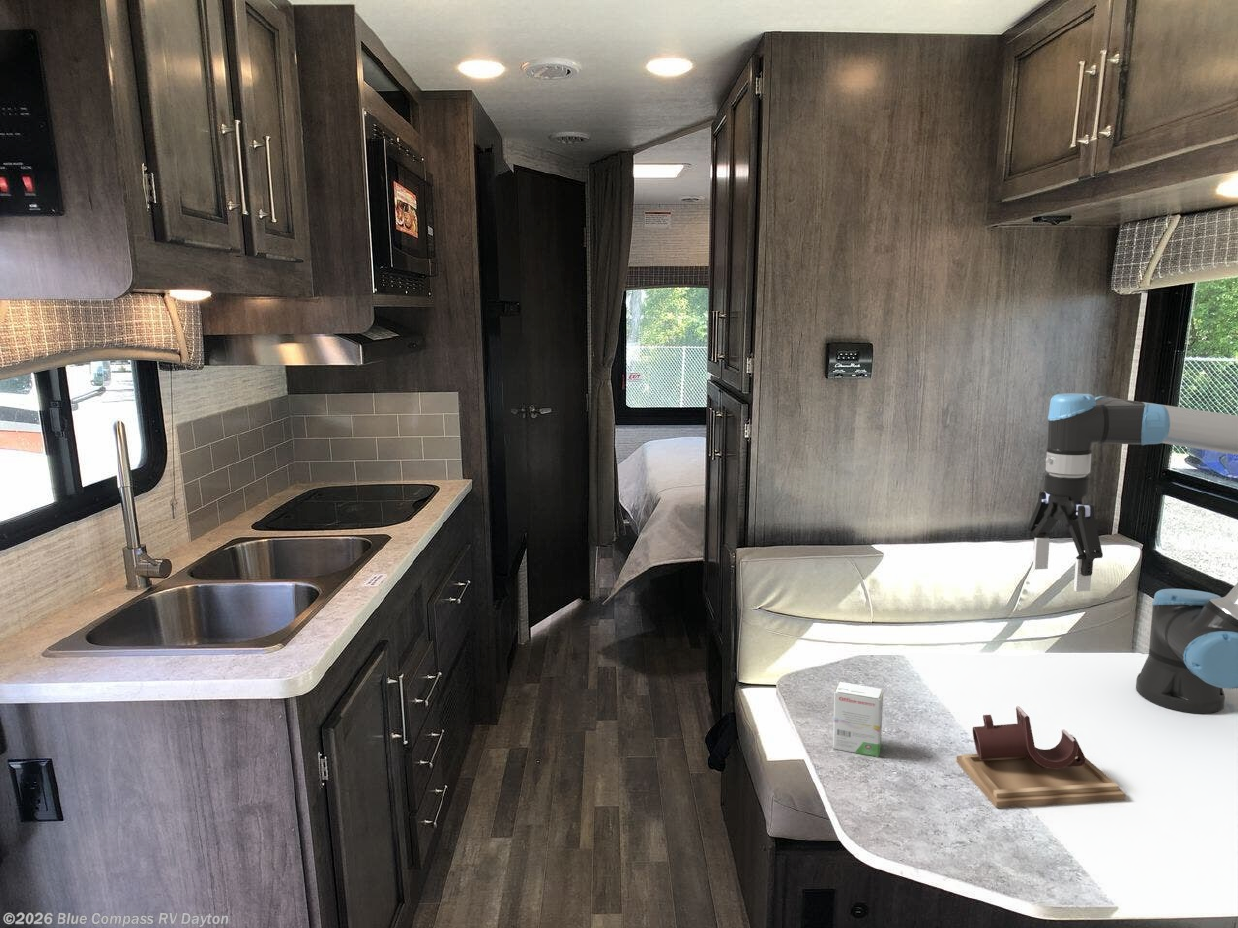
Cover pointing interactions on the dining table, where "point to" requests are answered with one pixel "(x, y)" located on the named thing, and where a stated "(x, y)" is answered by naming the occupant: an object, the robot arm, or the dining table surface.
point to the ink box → (857, 719)
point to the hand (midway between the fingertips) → (1060, 579)
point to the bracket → (1024, 744)
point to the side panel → (1038, 782)
